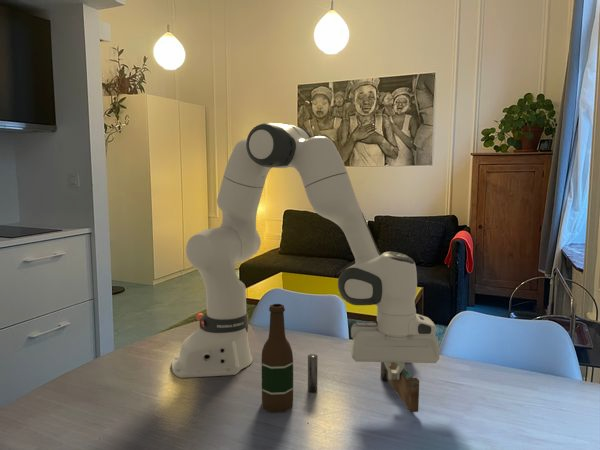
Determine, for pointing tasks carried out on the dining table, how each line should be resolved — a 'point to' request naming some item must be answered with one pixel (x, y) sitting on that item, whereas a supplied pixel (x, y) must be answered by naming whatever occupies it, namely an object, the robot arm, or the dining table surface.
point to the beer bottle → (277, 365)
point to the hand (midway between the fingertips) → (393, 378)
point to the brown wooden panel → (406, 388)
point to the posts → (313, 373)
